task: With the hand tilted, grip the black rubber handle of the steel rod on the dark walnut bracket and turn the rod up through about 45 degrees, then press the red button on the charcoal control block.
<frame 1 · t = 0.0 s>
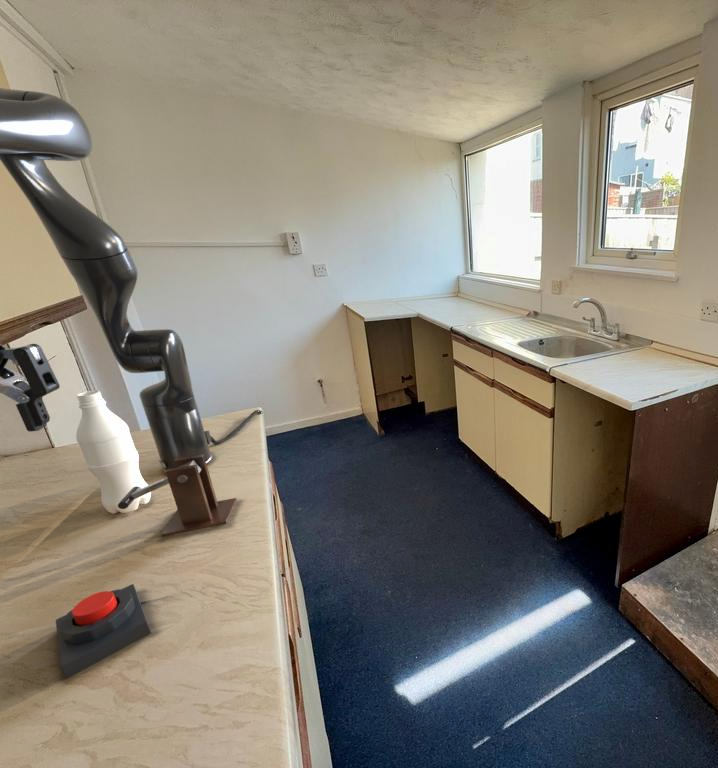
bracket: (202, 519, 77), on the counter
water bottle: (131, 507, 81), on the counter
lever: (161, 483, 73), point 9 cm above the counter, hinge at -20.0°
control block: (106, 632, 55), on the counter
button: (95, 607, 53), point 4 cm above the counter, slide at 0.1 cm
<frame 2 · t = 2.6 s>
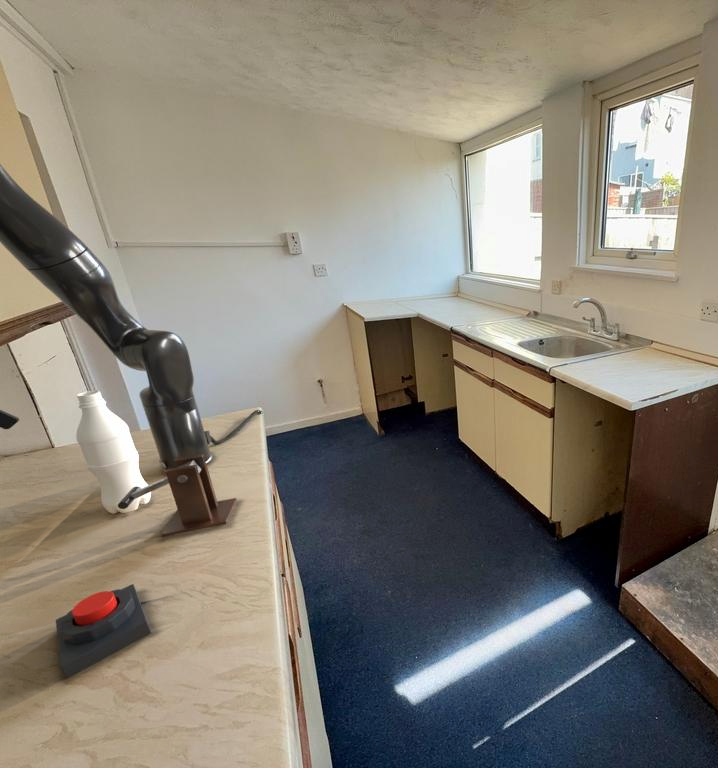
hand: (2, 433, 63), 23 cm above the counter, tool tilted 40°, fingers open, 8 cm apart
nothing on the counter moved.
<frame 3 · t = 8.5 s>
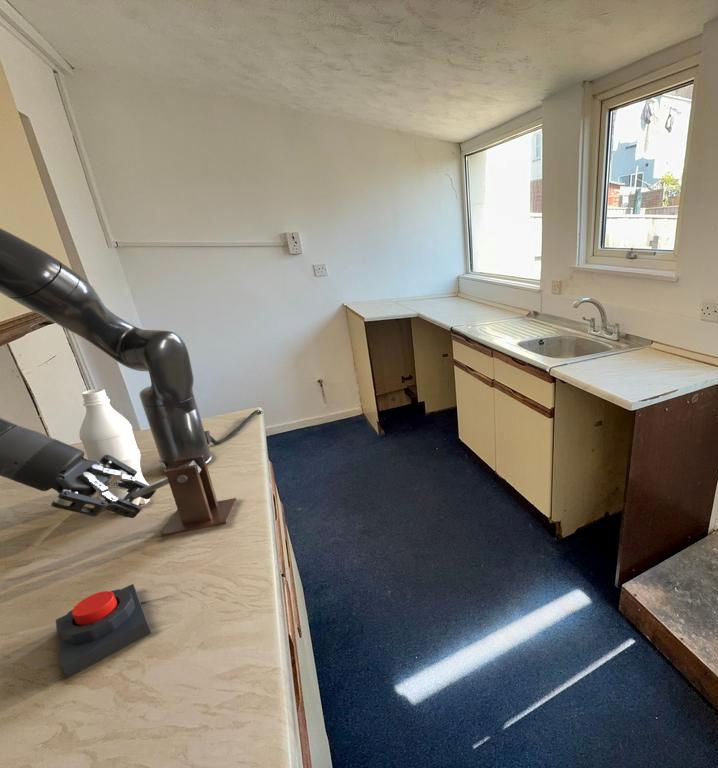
hand: (145, 503, 73), 6 cm above the counter, tool tilted 45°, fingers closed on lever, 5 cm apart
water bottle: (131, 507, 81), on the counter, touching hand
lever: (161, 483, 73), point 9 cm above the counter, hinge at -20.2°, touching gripper
everything else where it was.
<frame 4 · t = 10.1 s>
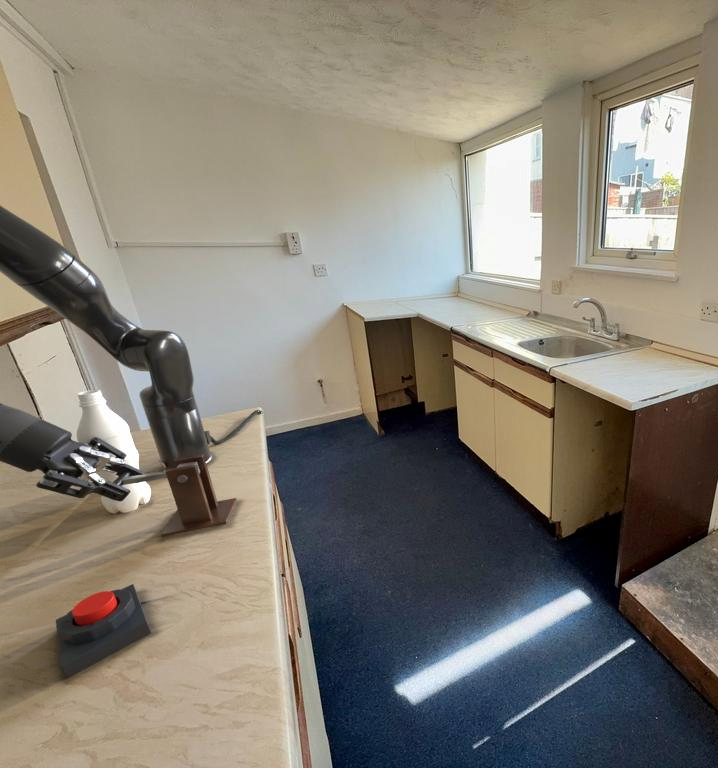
hand: (134, 487, 71), 9 cm above the counter, tool tilted 45°, fingers closed on lever, 5 cm apart
lever: (156, 475, 72), point 11 cm above the counter, hinge at 0.1°, touching gripper
everything else where it was.
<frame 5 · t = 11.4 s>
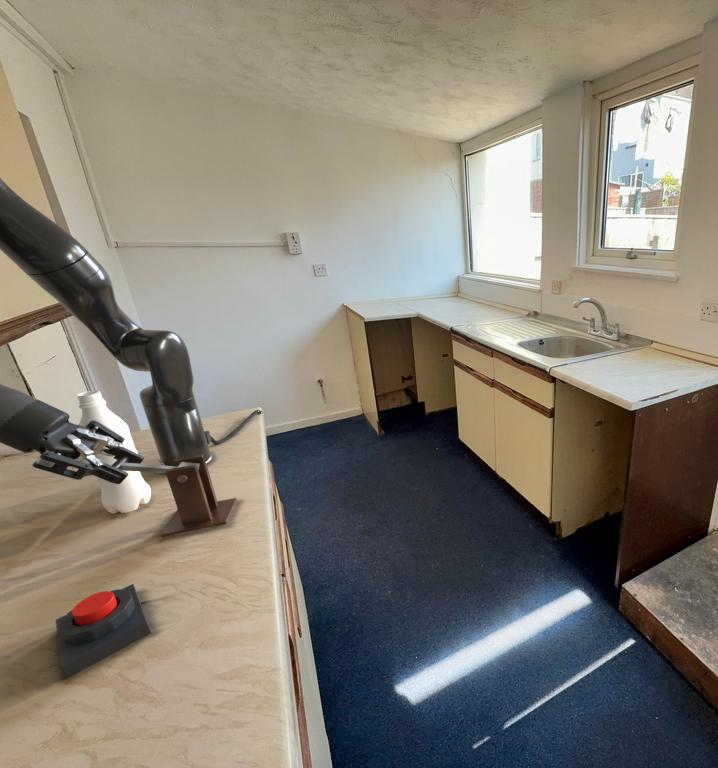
hand: (132, 470, 70), 13 cm above the counter, tool tilted 45°, fingers closed on lever, 5 cm apart
lever: (156, 468, 72), point 12 cm above the counter, hinge at 18.3°, touching gripper
everything else where it was.
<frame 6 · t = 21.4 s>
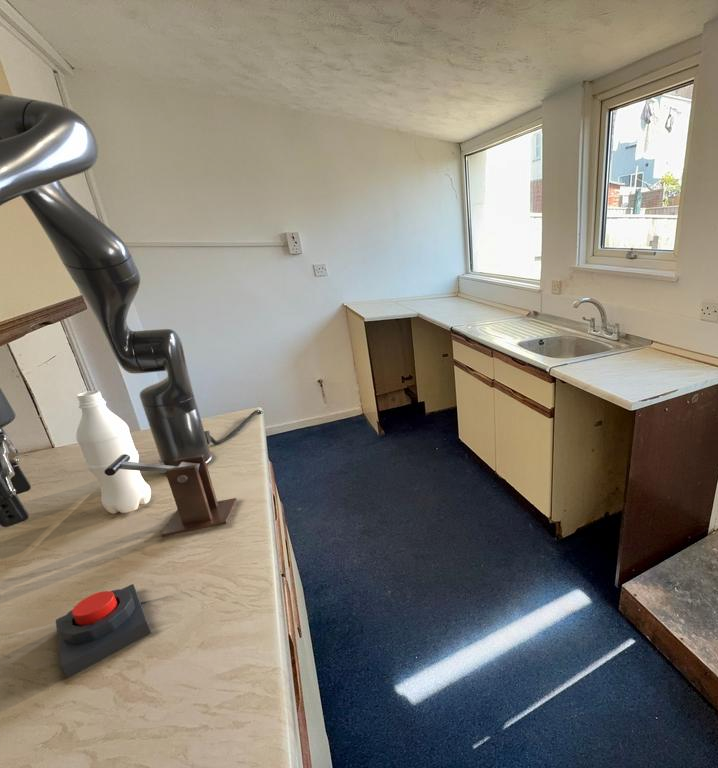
hand: (18, 506, 52), 19 cm above the counter, tool pointing down, fingers open, 8 cm apart
water bottle: (131, 507, 81), on the counter
lever: (156, 468, 72), point 13 cm above the counter, hinge at 19.8°
everything else where it was.
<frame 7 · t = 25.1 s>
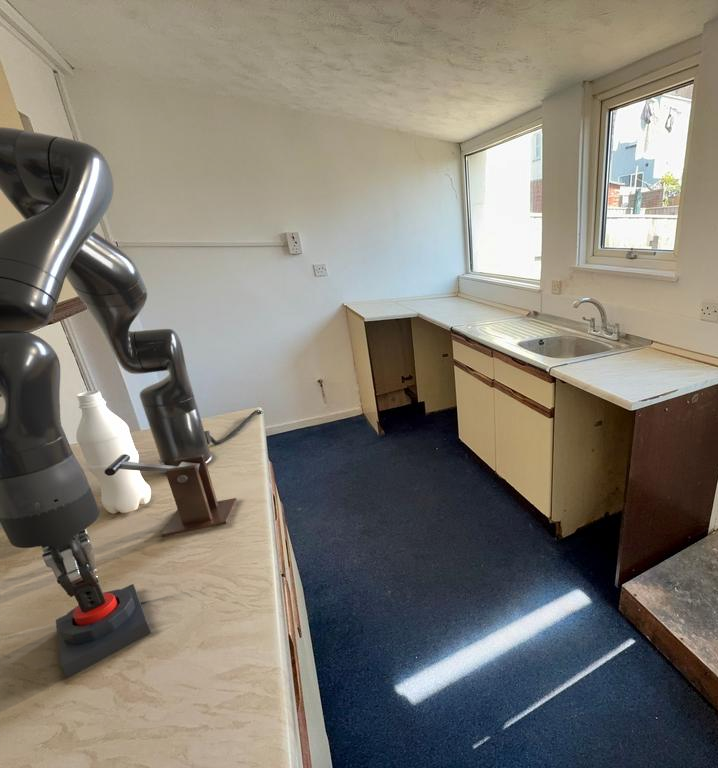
hand: (94, 605, 53), 5 cm above the counter, tool pointing down, fingers closed
button: (96, 610, 54), point 4 cm above the counter, slide at -0.3 cm, touching gripper
everything else where it was.
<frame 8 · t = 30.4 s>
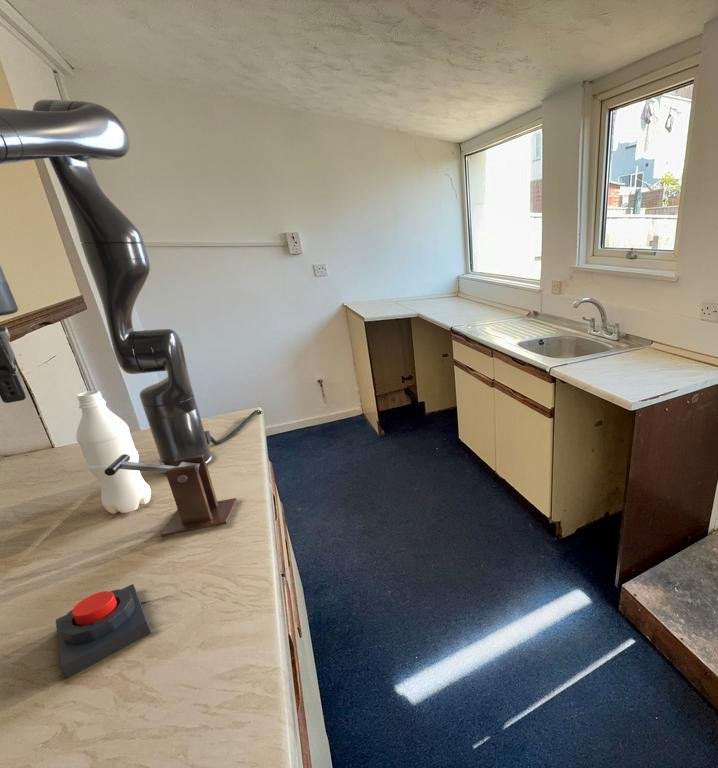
hand: (15, 400, 59), 29 cm above the counter, tool pointing down, fingers closed
button: (95, 607, 53), point 4 cm above the counter, slide at 0.1 cm
everything else where it was.
at the end: lever at +20° (first picture: -20°); button pushed in 1.1 cm at the most during the clip, back to where it started at the end; button slide at 0.1 cm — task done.
